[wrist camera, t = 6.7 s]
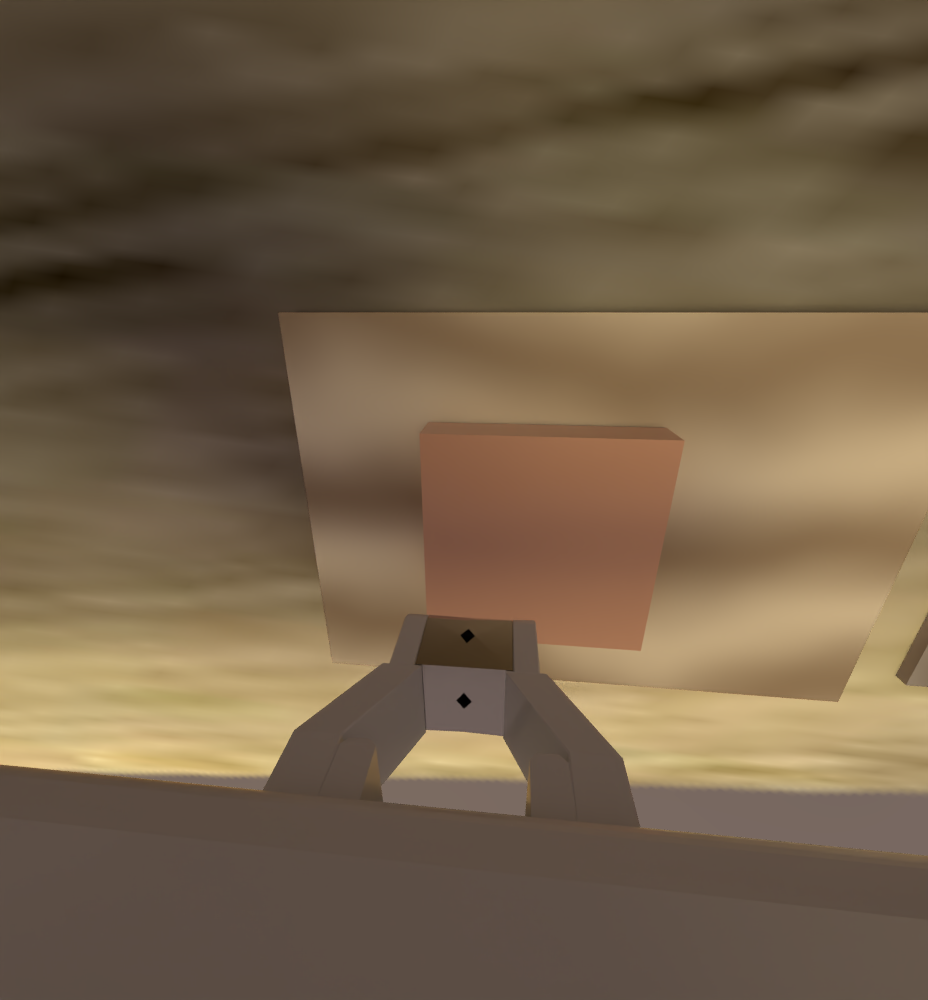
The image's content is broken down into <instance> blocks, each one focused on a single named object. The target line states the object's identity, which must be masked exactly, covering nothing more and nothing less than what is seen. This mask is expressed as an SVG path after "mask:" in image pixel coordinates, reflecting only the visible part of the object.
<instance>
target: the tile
mask: <svg viewBox="0 0 928 1000" xmlns="http://www.w3.org/2000/svg"><path fill="white" fill-rule="evenodd" d="M419 437H420V462H421V486H422V511H423V536H424V560H425V585H426V609H427V615H439V616H452V617H464V618H477V619H497V620H512V622H513V620H534V621H535V623H536V631H537V643H538V644H550V645H564V646H578V647H592V648H607V649H621V650H635V651H641V647H642V643H643V638H644V633H645V628H646V623H647V619H648V614H649V609H650V604H651V600H652V595H653V590H654V585H655V580H656V576H657V571H658V566H659V561H660V556H661V552H662V547H663V542H664V537H665V533H666V528H667V523H668V518H669V513H670V509H671V504H672V499H673V494H674V490H675V485H676V480H677V475H678V470H679V466H680V461H681V456H682V451H683V447H684V442H685V440H683V439H682V438H680V437H679V436H678V435H676V434H675V433H673V432H672V431H671V430H669V429H668V428H654V427H612V426H570V425H529V424H487V423H445V422H428V423H427V424H426V426H425V427H424V428H423V430H422V431H421V432H420V433H419Z"/></svg>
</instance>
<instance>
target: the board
mask: <svg viewBox="0 0 928 1000" xmlns="http://www.w3.org/2000/svg"><path fill="white" fill-rule="evenodd" d="M278 316H279V323H280V329H281V335H282V342H283V348H284V355H285V361H286V368H287V374H288V381H289V387H290V393H291V400H292V406H293V413H294V419H295V426H296V432H297V438H298V445H299V451H300V458H301V464H302V471H303V477H304V483H305V490H306V496H307V503H308V509H309V516H310V522H311V529H312V535H313V541H314V548H315V554H316V561H317V567H318V574H319V580H320V586H321V593H322V599H323V606H324V612H325V619H326V625H327V631H328V638H329V644H330V651H331V657H332V663H344V664H357V665H370V666H380V665H381V664H382V663H390V660H391V657H392V654H393V651H394V648H395V645H396V642H397V640H398V637H399V634H400V631H401V628H402V625H403V622H404V619H405V617H406V616H407V615H408V614H423V615H427V609H426V585H425V560H424V536H423V511H422V486H421V462H420V437H419V433H420V432H421V431H422V430H423V428H424V427H425V426H426V424H427V423H428V422H445V423H487V424H529V425H570V426H612V427H654V428H668V429H669V430H671V431H672V432H673V433H675V434H676V435H678V436H679V437H680V438H682V439H683V440H685V442H684V447H683V451H682V456H681V461H680V466H679V470H678V475H677V480H676V485H675V490H674V494H673V499H672V504H671V509H670V513H669V518H668V523H667V528H666V533H665V537H664V542H663V547H662V552H661V556H660V561H659V566H658V571H657V576H656V580H655V585H654V590H653V595H652V600H651V604H650V609H649V614H648V619H647V623H646V628H645V633H644V638H643V643H642V647H641V651H635V650H621V649H607V648H592V647H578V646H564V645H550V644H538V655H539V666H540V673H541V674H547V675H548V676H549V677H550V678H551V679H552V680H563V681H576V682H589V683H602V684H615V685H628V686H641V687H653V688H666V689H679V690H692V691H705V692H718V693H731V694H744V695H757V696H770V697H782V698H795V699H808V700H821V701H834V702H838V701H839V699H840V697H841V694H842V692H843V690H844V688H845V686H846V684H847V682H848V679H849V677H850V675H851V673H852V671H853V669H854V667H855V665H856V662H857V660H858V658H859V656H860V654H861V652H862V650H863V647H864V645H865V643H866V641H867V639H868V637H869V635H870V633H871V630H872V628H873V626H874V624H875V622H876V620H877V618H878V615H879V613H880V611H881V609H882V607H883V605H884V603H885V601H886V598H887V596H888V594H889V592H890V590H891V588H892V586H893V584H894V581H895V579H896V577H897V575H898V573H899V571H900V569H901V566H902V564H903V562H904V560H905V558H906V556H907V554H908V552H909V549H910V547H911V545H912V543H913V541H914V539H915V537H916V534H917V532H918V530H919V528H920V526H921V524H922V522H923V520H924V517H925V515H926V513H927V511H928V313H613V312H278Z"/></svg>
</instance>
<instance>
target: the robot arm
mask: <svg viewBox="0 0 928 1000" xmlns="http://www.w3.org/2000/svg"><path fill="white" fill-rule="evenodd" d="M426 730H441V731H460V732H464V731H465V732H471V733H480V734H489V735H499V736H503V738H504V740H505V742H506V744H507V745H508V747H509V749H510V751H511V753H512V755H513V756H514V758H515V760H516V762H517V764H518V765H519V767H520V769H521V771H522V773H523V774H524V776H525V778H526V780H527V782H528V785H527V798H526V811H525V816H517V815H507V814H497V813H486V812H476V811H466V810H456V809H446V808H436V807H426V806H416V805H405V804H395V803H385V802H383V797H382V790H381V786H382V784H383V783H384V782H385V781H386V780H387V778H388V777H389V776H390V775H391V774H392V772H393V771H394V770H395V769H396V768H397V766H398V765H399V764H400V763H401V761H402V760H403V759H404V758H405V757H406V755H407V754H408V753H409V752H410V751H411V749H412V748H413V747H414V746H415V745H416V743H417V742H418V741H419V740H420V738H421V737H422V736H423V735H424V734H425V732H426ZM0 1000H928V856H924V855H912V854H903V853H893V852H882V851H873V850H863V849H853V848H843V847H832V846H822V845H812V844H802V843H792V842H782V841H771V840H761V839H752V838H741V837H731V836H721V835H711V834H701V833H691V832H681V831H671V830H660V829H650V828H640V824H639V820H638V816H637V812H636V808H635V805H634V801H633V797H632V793H631V789H630V785H629V781H628V777H627V773H626V769H625V765H624V761H623V758H622V757H621V756H620V755H619V754H618V753H617V752H616V750H615V749H614V748H613V747H612V746H611V745H610V744H609V743H608V742H607V740H606V739H605V738H604V737H603V736H602V735H601V734H600V733H599V732H598V730H597V729H596V728H595V727H594V726H593V725H592V724H591V723H590V722H589V720H588V719H587V718H586V717H585V716H584V715H583V714H582V713H581V711H580V710H579V709H578V708H577V707H576V706H575V705H574V704H573V703H572V701H571V700H570V699H569V698H568V697H567V696H566V695H565V694H564V693H563V691H562V690H561V689H560V688H559V687H558V686H557V685H556V684H555V683H554V681H553V680H552V679H551V678H550V677H549V676H548V675H547V674H541V673H540V666H539V655H538V643H537V631H536V623H535V621H534V620H513V622H512V620H497V619H477V618H464V617H452V616H439V615H423V614H408V615H407V616H406V617H405V619H404V622H403V625H402V628H401V631H400V634H399V637H398V640H397V642H396V645H395V648H394V651H393V654H392V657H391V660H390V663H382V664H381V665H380V666H378V667H377V668H376V669H374V670H373V671H372V672H370V673H369V674H368V675H366V676H365V677H364V678H363V679H361V680H360V681H359V682H357V683H356V684H355V685H353V686H352V687H351V688H349V689H348V690H347V691H345V692H344V693H343V694H341V695H340V696H339V697H337V698H336V699H335V700H334V701H332V702H331V703H330V704H328V705H327V706H326V707H324V708H323V709H322V710H320V711H319V712H318V713H316V714H315V715H314V716H312V717H311V718H310V719H308V720H307V721H306V722H305V723H303V724H302V725H301V726H299V727H298V728H297V729H295V730H294V732H293V734H292V736H291V737H290V739H289V741H288V743H287V745H286V747H285V749H284V751H283V753H282V755H281V757H280V758H279V760H278V762H277V764H276V766H275V768H274V770H273V772H272V774H271V776H270V778H269V780H268V781H267V784H266V785H265V787H264V789H263V790H253V789H243V788H233V787H222V786H212V785H202V784H192V783H182V782H172V781H162V780H150V779H141V778H131V777H121V776H111V775H100V774H90V773H80V772H70V771H60V770H49V769H39V768H29V767H19V766H9V765H0Z"/></svg>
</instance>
